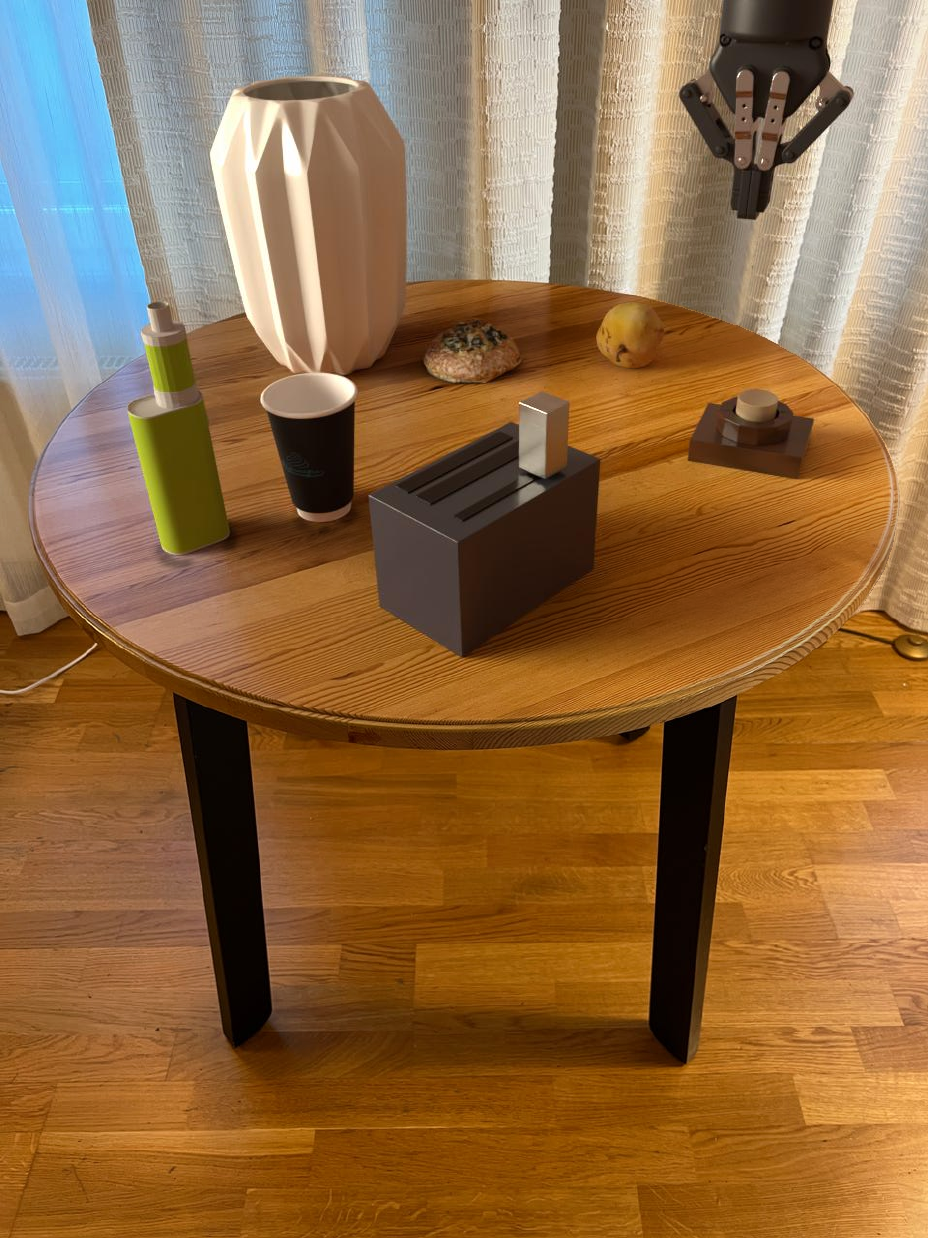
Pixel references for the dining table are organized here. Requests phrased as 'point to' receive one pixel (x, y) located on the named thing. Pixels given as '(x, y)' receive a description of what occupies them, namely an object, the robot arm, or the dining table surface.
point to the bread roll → (471, 353)
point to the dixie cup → (315, 441)
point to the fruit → (630, 335)
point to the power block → (751, 440)
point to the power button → (756, 405)
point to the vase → (315, 218)
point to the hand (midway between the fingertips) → (748, 216)
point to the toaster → (482, 539)
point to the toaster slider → (543, 434)
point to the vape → (177, 442)
